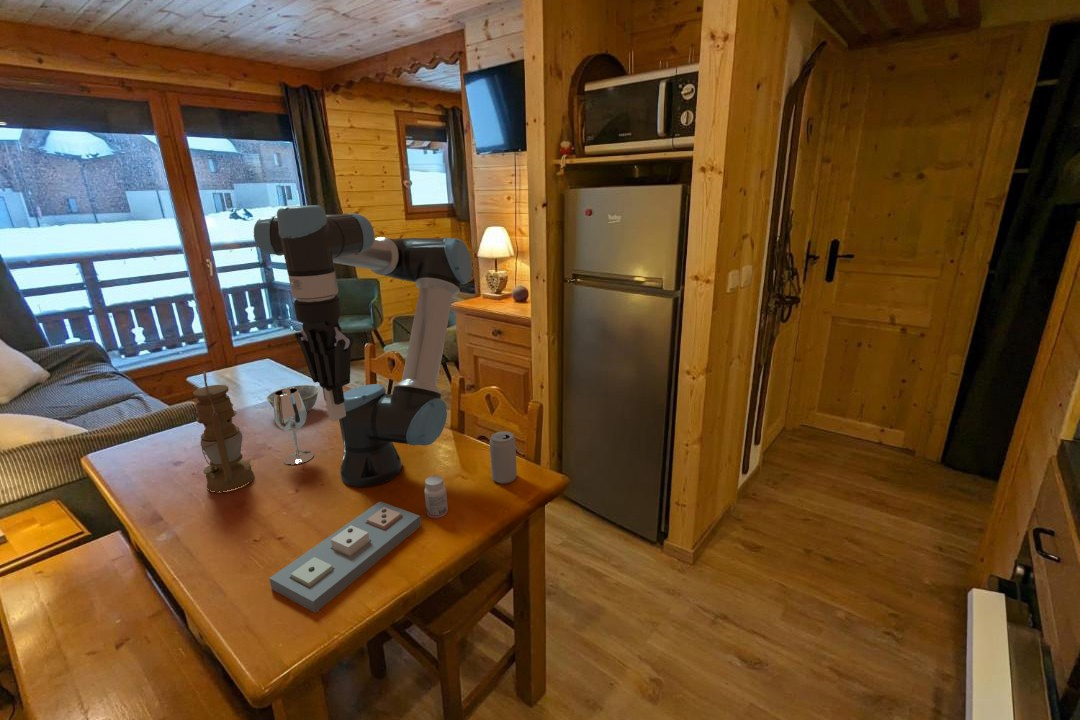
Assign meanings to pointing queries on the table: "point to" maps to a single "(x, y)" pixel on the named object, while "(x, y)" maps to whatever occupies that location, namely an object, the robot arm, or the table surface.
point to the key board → (344, 559)
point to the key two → (350, 541)
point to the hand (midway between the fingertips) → (337, 417)
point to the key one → (311, 572)
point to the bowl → (306, 393)
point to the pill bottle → (435, 496)
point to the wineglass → (291, 420)
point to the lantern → (221, 439)
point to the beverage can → (503, 457)
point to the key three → (384, 518)
